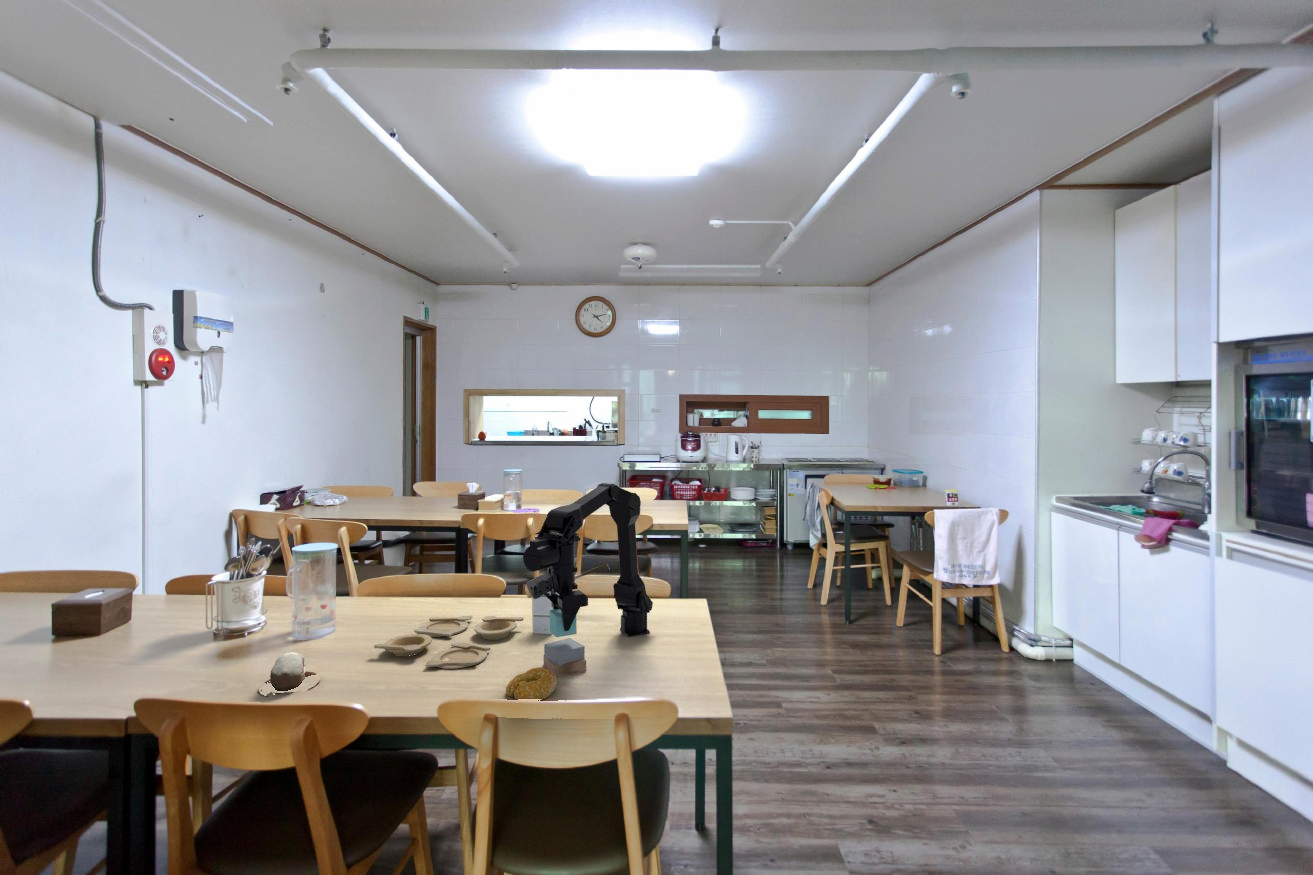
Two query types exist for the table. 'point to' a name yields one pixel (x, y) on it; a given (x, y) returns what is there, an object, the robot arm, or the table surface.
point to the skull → (288, 672)
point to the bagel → (532, 684)
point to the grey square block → (564, 651)
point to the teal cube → (560, 624)
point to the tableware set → (462, 652)
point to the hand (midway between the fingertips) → (563, 627)
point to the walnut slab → (565, 667)
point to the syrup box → (541, 615)
